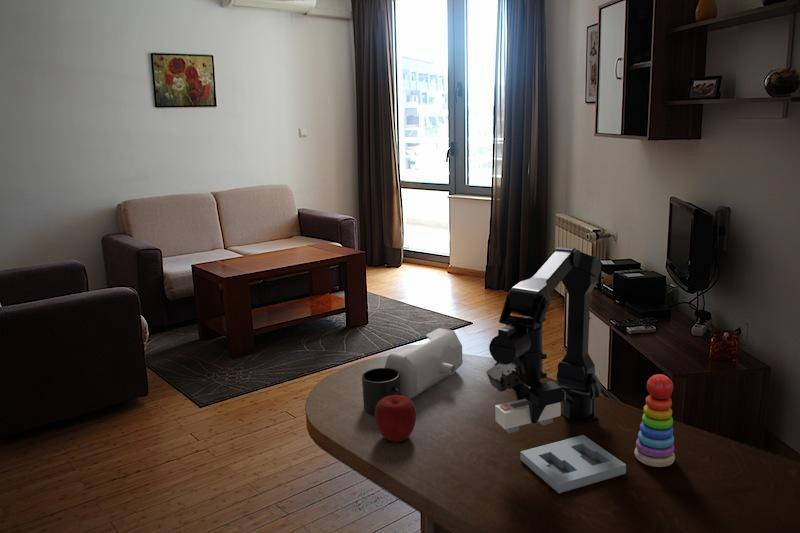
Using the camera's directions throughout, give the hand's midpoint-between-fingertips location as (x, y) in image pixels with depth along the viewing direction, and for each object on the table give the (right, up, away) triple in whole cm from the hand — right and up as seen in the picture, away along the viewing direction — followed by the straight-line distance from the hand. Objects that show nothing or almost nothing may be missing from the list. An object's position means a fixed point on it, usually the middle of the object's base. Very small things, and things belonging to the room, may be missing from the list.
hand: (528, 418), depth 140 cm
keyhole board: (+9, -10, 0) cm, 13 cm away
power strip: (0, -2, 0) cm, 2 cm away
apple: (-27, -8, +16) cm, 33 cm away
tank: (-19, -1, +44) cm, 48 cm away
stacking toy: (+27, -9, +2) cm, 28 cm away
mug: (-30, -5, +31) cm, 43 cm away
